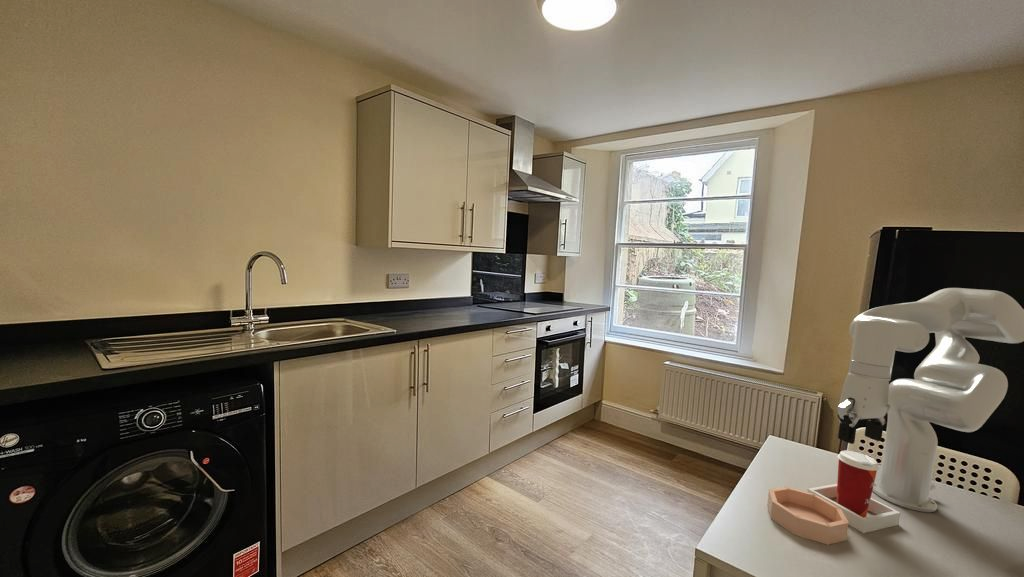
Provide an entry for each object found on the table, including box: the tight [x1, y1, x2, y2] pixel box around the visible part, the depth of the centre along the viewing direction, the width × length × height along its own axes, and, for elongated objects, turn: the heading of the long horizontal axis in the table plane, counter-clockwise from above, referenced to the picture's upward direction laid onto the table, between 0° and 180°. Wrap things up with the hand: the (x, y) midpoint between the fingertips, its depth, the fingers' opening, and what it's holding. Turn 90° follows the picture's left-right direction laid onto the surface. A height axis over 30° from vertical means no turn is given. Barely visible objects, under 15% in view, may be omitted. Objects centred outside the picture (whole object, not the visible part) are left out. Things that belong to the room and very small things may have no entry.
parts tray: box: [806, 483, 901, 534], centre depth 98 cm, size 13×13×3 cm
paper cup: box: [835, 449, 880, 518], centre depth 97 cm, size 8×8×14 cm
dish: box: [766, 486, 849, 545], centre depth 92 cm, size 14×14×4 cm
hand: (859, 439), depth 96 cm, fingers open, 9 cm apart
